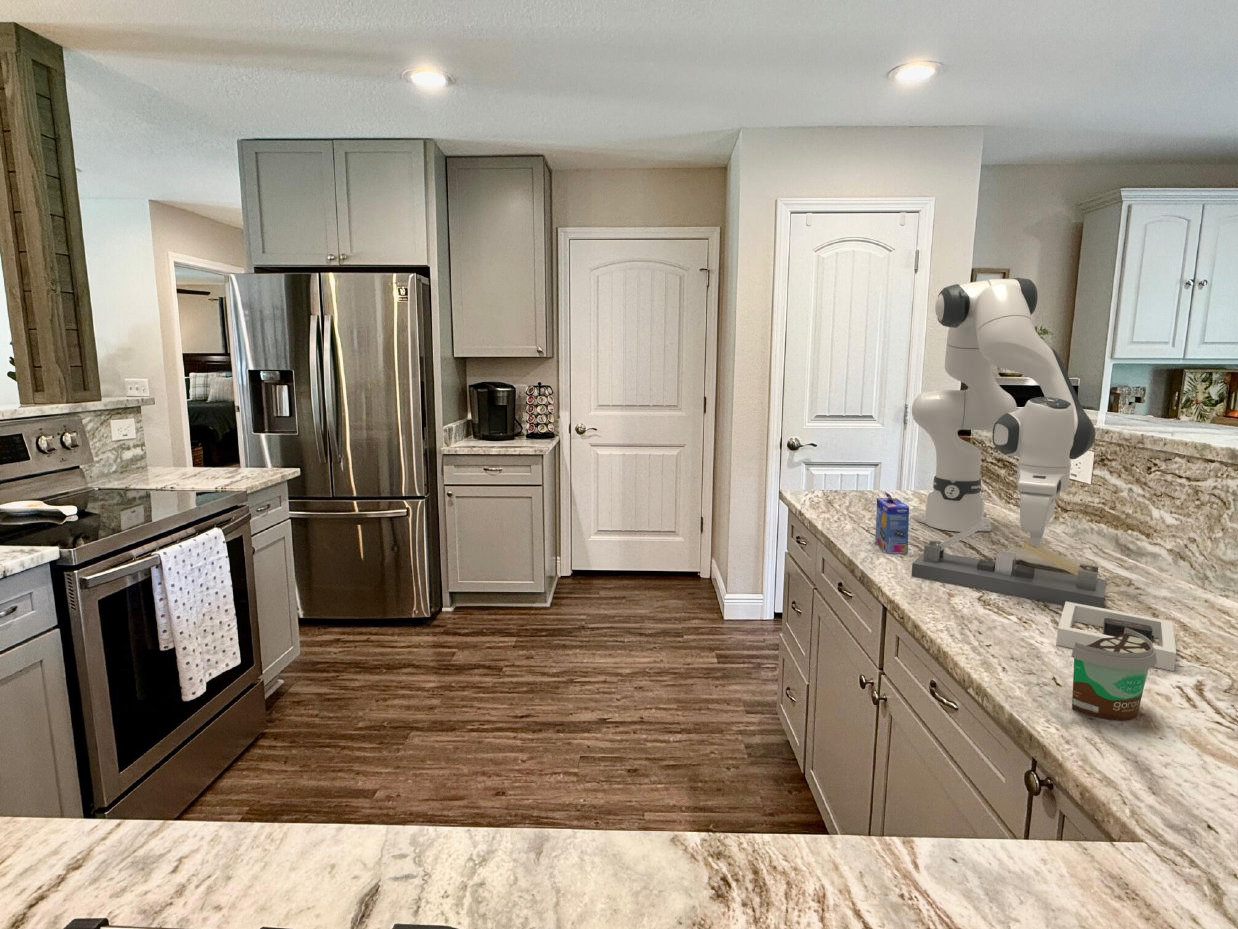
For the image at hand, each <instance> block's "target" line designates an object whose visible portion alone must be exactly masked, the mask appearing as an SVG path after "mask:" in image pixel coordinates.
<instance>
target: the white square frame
mask: <svg viewBox="0 0 1238 929" xmlns="http://www.w3.org/2000/svg"><path fill="white" fill-rule="evenodd" d="M1104 618H1109V619H1115V620H1121V621H1126V622H1132V623H1138V624H1143V625H1148V626H1151V627H1152V630H1153V631H1152V635H1153V636H1154V639H1158V645H1155V644H1153V647H1154V648H1155V651H1156V658H1157V663H1156V665H1155V666H1153V667H1152V668H1157V669H1162V670H1167V671H1170V672H1174V671H1175V666H1176V665H1175V664H1176V658H1177V647H1176V641H1175V640H1176V639H1175V633H1174V623H1173V621H1172V620H1167V619H1162V618H1155V617H1150V616H1146V615H1140V614H1136V613H1135V614H1134V613H1130V612H1125V611H1119V610H1113V609H1108V608H1104V607H1103V608H1098V607H1093V606H1088V605H1082V604H1077V603H1072V602H1067V601H1066V602H1065V606H1064V605H1063V608H1062V614H1061V616H1060V620H1059V623H1058V626H1057V633H1056V646H1060V647H1064V648H1069V649H1073V647H1075V642H1077V643H1079V644H1082V645H1086V646H1087V645H1090V644H1092V643H1094V642H1096V641H1098V640H1100V639H1102V638H1113V636H1108V635H1104V634H1102V633H1099V632H1093V631H1090V630H1085V629H1079V628H1074V627H1073V624H1074V622H1076V623H1080V624H1086V625H1091V626H1096V627H1098V628H1099V627H1101V628H1103V624H1104Z"/></svg>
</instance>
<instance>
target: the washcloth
mask: <svg viewBox="0 0 1238 929" xmlns="http://www.w3.org/2000/svg"><path fill="white" fill-rule="evenodd" d="M1003 551H1004V552H1011V553H1017V558H1016V565H1017V566H1018V565H1019V566H1025V567H1031V568H1035V569H1041V570H1047V571H1053V572H1059V573H1065V574H1071V575H1074V574H1072V573H1070V572H1068V571H1066V570H1064V569H1062V568H1060V567H1059V566H1057V565H1055V564H1053V563H1051V562H1049V561H1047V560H1045V559H1043V558H1041V557H1039V556H1037V555H1035V554H1033V553H1031V552H1029V551H1027V550H1025V549H1023V548H1022V547H1018V546H1010V547H1005V549H1004V550H1003ZM999 553H1000V552H997V553H996V554H994V555H993V556H992V558H993V559H992V561H994V562H996V557H997V556H998V554H999ZM1057 555H1058V556H1060V557H1062V558H1064V559H1066V560H1068V561H1070V562H1072V563H1074V564H1076V565H1078V566H1080V564H1086V565H1093V566H1094V564H1093V563H1092V562H1089V561H1087V560H1082V559H1079V558H1077V559H1076V558H1071V557H1067V556H1063V555H1059V554H1057Z"/></svg>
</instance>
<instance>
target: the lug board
mask: <svg viewBox="0 0 1238 929" xmlns="http://www.w3.org/2000/svg"><path fill="white" fill-rule="evenodd" d="M942 542H943V541H938V540H929V543H928V544H925V545H924V546H923V553H922V554H921V555H920V556H918V557H917V558H916V559H915V560H914V561H913V562H912V564H911V577H915V578H920V579H924V580H930V581H935V582H941V583H945V584H951V585H955V586H956V585H957V586H961V587H966V588H971V589H977V590H983V591H987V592H993V593H997V594H1001V595H1002V594H1004V595H1008V596H1011V597H1012V596H1013V597H1019V598H1024V599H1029V600H1032V601H1033V600H1034V601H1038V602H1039V601H1040V602H1044V603H1050V604H1054V605H1060V606H1063V607H1064V606H1065V602H1066V601H1067V602H1072V603H1077V604H1082V605H1088V606H1093V607H1098V608H1104V604H1105V597H1106V590H1107V589H1106V588H1107V580H1106V579H1100V578H1098V575H1099V566H1098V565H1094V564H1093V565H1086V564H1080V567H1082V568H1084V569H1088V570H1091V571H1092V572H1091V571H1085V570H1079V569H1078V576H1076V575H1071V574H1065V573H1059V572H1053V571H1047V570H1041V569H1035V568H1031V567H1025V566H1019V565H1018V566H1017V565H1016V558H1017V553H1011V552H1004V550H1000V551H999V552H998V553H999V554H998V553H997V554H998V556H997V557H996V562H994V561H993V560H988V559H982V558H975V557H969V556H968V557H967V556H962V555H957V554H956V555H955V554H950V553H945V549H943V550H942V551H940V547H936V546H934V545H938V544H940V543H942Z"/></svg>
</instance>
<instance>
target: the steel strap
mask: <svg viewBox="0 0 1238 929" xmlns="http://www.w3.org/2000/svg"><path fill="white" fill-rule="evenodd" d="M985 526H986V523H985V522H984V521H983V520H982V521H980V522H978V523H976V524H974V525H973V526H971V527H969V528H967V529H965V530H964V531H962V532H958V533H956V534H955V535H953V536H951V537H950V538H948V539H945V540H944V541H941V542H942V543H940V544H938V545H934V546H936V547H940V551H942V550H943V549H944V550H945V549H947V548H949V547H950V546H952V545H955V544H956V543H958V542H960V541H962V540H963V539H965V538H967V537H969V536H971V535H973V534H974V533H976V532H979V531H978V530H980V529H982V528H984V527H985Z"/></svg>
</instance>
